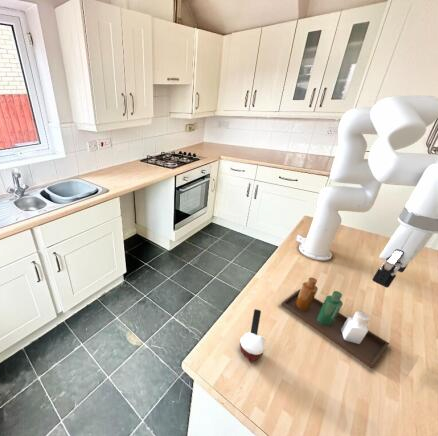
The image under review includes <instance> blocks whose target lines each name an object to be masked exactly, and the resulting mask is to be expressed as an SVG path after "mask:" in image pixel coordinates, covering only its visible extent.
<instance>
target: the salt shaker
mask: <svg viewBox="0 0 438 436" xmlns="http://www.w3.org/2000/svg"><path fill="white" fill-rule="evenodd" d="M370 320H371V317H370V316H369V315H368V313H366V312H364V311H361V310H357V311H355V313H354V314H353V316H348V317H347V320H346V322H345V323H344V325H343V327H342V329H341V332H342V335H343V337H344V340H346V341H349V342H353V343H357V344H360V343H361V341H362V340H363V338H364V337H365V335H366V333H367V332H368V331H369V328H368V323H369V322H370Z"/></svg>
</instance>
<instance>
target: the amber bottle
mask: <svg viewBox="0 0 438 436" xmlns="http://www.w3.org/2000/svg"><path fill="white" fill-rule="evenodd" d="M317 283H318V279H316V278H315V277H313V276H311V277H309V278H308V280H307V281H304V282H303V283H302V285H301V287H300V289H301V290H300V292H299V295H298V297H297V300H296V302H295V305H296V307H297V308H298V309H300V310H302V311H308V310H309V308H310V306H311V304H312V302H313V299H314V298H316V295H317V293H318V289H319V288H318V287H317Z"/></svg>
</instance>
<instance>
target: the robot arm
mask: <svg viewBox="0 0 438 436" xmlns="http://www.w3.org/2000/svg"><path fill="white" fill-rule="evenodd" d="M436 120H438V98H437V97H436V96H433V95H392V96H388V97H385V98H382V99H380V100H378V101H377V102H376V103H374V105H372V106H362V107H354V108H351V109H348V110H347V111H345V112H344V113H343V115H342V116H341V119H340V120H339V123H338V128H337V139H338V143H337V144H338V145H337V148H336V151H335V155H334V158H333V162H332V164H331V169H330V174H329V178H330V180H331V181H332V182H334V183H339V184H347V185H348V184H349V185H359V187H353V186H344V185H328V186H325V187H323V188H322V189H321V190H320V191H319V193H318V199H317V205H316V209H315V213H314V216H313V219H312V221H311V225H310V227H309V230H308V233H307V236H306V237H303V236H302V235H300V234H298V235H297V236H296V237H295V238H296V242H298V243H300V244H299V246H298V251H300V253H301V254H302V255H304V256H305V257H307V258H309V259H313V260H316V261H320V262H321V261H323V262H324V261H329V260H330V259H332V257H333V253H332V251H331V248H332V245H333V243H334V241H335V239H336V237H337V234H338V232H339V229H340V227H341V225H342V217H341V215H340V214H339V212H351V213H352V212H353V213H367V212H369V211H370V210H371V209H373V206H374V205H375V202H376V200H377V197H378V194H379V192H380V190H381V187H382V184H383V185H384V184H385V185H392V186H403V187H404V186H406V187H414V189H413V191H412V193H411V194H410V196H409V198H408V200H407V201H406V204H405V205H404V207H403V208H402V211H401V212H400V214H399V216H398V218H397V221H398V222H399V223H400V224H399V226H398V227H397V229H396V230H395V231H394V233H393V234H392V235H391V237H390V239H389V240H388V242H387V243H386V245H385V246H384V248H383V250H382V251H381V253H380V254H379V259H380V260H384V262H383V263H382V264H381V266H380V267H378V269H377V271H376V272H375V274H374V275H373V277H372V279H371V280H372V282H373V283H376V284H378V285H380V286H382V287H384V288H390V286H391V285H392V283H393V281H394V280H395V278H396V276H397V274H396V273H397V272H400V273H404V271H405V270H406V268H407V267H408V265H409V264H410V263H411V262H412V261H413V260H415V258H416V257H417V256H418V255H419V254H420V253H421V251H422V250H423V249H424V248H425V246H426V245H427V243H428V242H429V241H430V239H431V237H432V236H433V235H434V234H438V154H435V153H419V152H417V153H416V152H398V150H401V149H405V148H408V147H409V146H412V145H414V144H415V143H417V142H418V141H420V140H421V139H422V138H423V137H424V135H425V133H426V131H427V127H429V126H431V125H432V124H433V123H435V122H436ZM364 135H373V136H374V135H376V136H378V138H377V139H376V140H375V141H374V142H373V144H372V145H371V147H370V149H369V153H368V156H367V157H368V158H365V155H366V152H367V150H368V143H367V140H366V138H365V136H364Z"/></svg>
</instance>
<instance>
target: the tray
mask: <svg viewBox="0 0 438 436" xmlns="http://www.w3.org/2000/svg"><path fill="white" fill-rule="evenodd" d="M300 290H301V288H299V289H298V290H297V291H295V292H294V293H293V294H291V295H290V296H288V297H287V298H286V299H285V300H283V301H282V302H281V305H280V306H281V307H282V308H283V309H285V310H287V311H288V312H290V313H291V314H292V315H293V316H295V317H297V318H298V319H299V320H301V321H302V322H304V323H305V324H306V325H308V326H309V327H311V328H313V330H314V331H317V332H318V333H320V334H321V335H323V336H324V337H325V338H326V339H327V340H330V341H331V342H332V343H334V344H335V345H336V346H338V347H339V348H341V349H343V350H344V351H345V352H347V353H348V354H350V355H351V356H352V357H354V358H355V359H356V360H358V361H359V362H361V363H363V364H364V365H365V366H367V367H368V368H370V369H372V368H373V367H374V365H375V364H376V362H377V361H378V360H379V359H380V357H381V356H382V354H383V353H384V351H385V350H386V349H387V347H388V346H389V345H390V342H388V341H387V340H385V339H384V338H381V337H380V336H378V335H376V334H375V333H373V332H372V331H370V330H368V332H367V333H366V335H365V337H364V338H363V340H362V341H361V343H360V344H357V343H353V342H349V341H346V340H344V337H343V335H342V332H341V329H342V327H343V325H344V323H345V322H346V320H347V318H348V317H347V316H345V315H344V314H343V313H340V312H339V313H338V314H337V316H336V318H335V320H334V322H333V324H332V325H331V326H324V325H322V324H321V323H319V322H318V320H317V315H318V313H319V311H320V309H321V307H322V305H323V303H324V302H322V301H320V300H319V299H317V298H316V297H314V299H313V302H312V304H311V306H310V308H309V310H308V311H302V310H300V309H298V308H297V307H296V305H295V302H296V300H297V297H298V295H299V292H300Z"/></svg>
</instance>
